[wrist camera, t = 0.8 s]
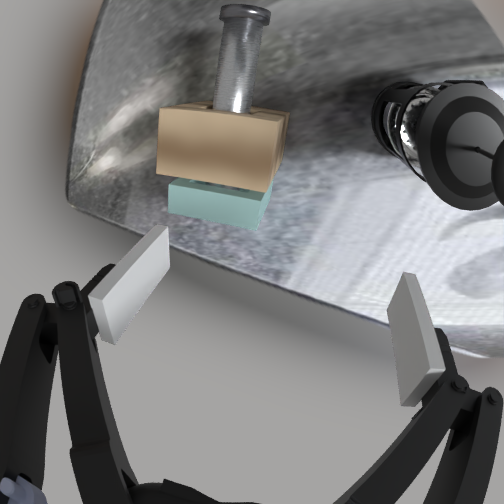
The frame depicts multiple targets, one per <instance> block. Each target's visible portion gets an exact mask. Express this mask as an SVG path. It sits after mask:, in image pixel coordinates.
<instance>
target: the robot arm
mask: <svg viewBox="0 0 504 504" xmlns="http://www.w3.org/2000/svg"><path fill="white" fill-rule="evenodd" d="M169 268H170V259H169V238H168V226H162V225H157V224H156V225H155V226H154V227H153V228H152V229H151V230H150V231H149V232H148V233H147V234H146V235H145V236H144V237H143V238H142V239H141V240H140V241H139V242H138V243H137V244H136V245H135V246H134V247H133V248H132V249H131V250H130V251H129V252H128V253H127V254H126V255H125V256H124V257H123V258H122V259H121V260H120V261H119V262H118V263H117V265H115V264H109V265H107V266H105V267H103V268H102V269H101V270H100V271H99V272H98V273H97V275H95V276H94V277H93V278H92V280H90V281H89V283H87V285H86V286H85V287H84V288H83V289H82V290H81V291H80V290H79V287H78V284H76V283H75V282H72V281H65V282H62V283H60V284H58V285H56V286H55V287H54V289H53V291H52V295H53V298H54V301H55V303H46V301H45V298H44V296H43V295H41V294H32V295H30V296H28V297H26V298H25V299H24V300H23V302H22V304H21V306H20V309H19V311H18V314H17V316H16V319H15V322H14V324H13V327H12V330H11V333H10V336H9V338H8V341H7V344H6V347H5V351H4V354H3V357H2V360H1V364H0V504H47V501H46V497H45V495H44V493H43V492H42V491H41V490H42V485H43V480H44V468H45V447H46V433H47V422H48V413H49V405H50V397H51V390H52V384H53V378H54V372H55V366H56V360H57V355H58V350H59V360H60V370H61V380H62V388H63V395H64V401H65V408H66V414H67V420H68V425H69V430H70V435H71V440H72V448H71V449H70V458H71V463H72V467H73V471H74V474H75V478H76V482H77V485H78V489H79V492H80V495H81V499H82V502H83V504H259V503H253V502H240V503H238V502H237V503H236V502H235V503H231V502H229V503H228V502H226V503H225V502H218V501H216V500H214V499H212V498H210V497H208V496H206V495H204V494H202V493H201V492H199V491H197V490H195V489H193V488H191V487H188V486H185V485H182V484H179V483H175V482H173V481H170V480H167V479H164V480H163V483H144V484H138V481H137V479H136V477H135V475H134V473H133V471H132V469H131V467H130V464H129V462H128V459H127V456H126V453H125V451H124V448H123V445H122V442H121V439H120V436H119V432H118V429H117V426H116V422H115V419H114V415H113V412H112V408H111V405H110V401H109V397H108V393H107V389H106V385H105V382H104V377H103V372H102V368H101V363H100V358H99V353H98V348H97V343H96V340H95V336H96V335H97V333H98V332H99V334H100V337H101V340H103V341H105V342H108V343H111V344H113V345H115V344H116V342H117V341H118V339H119V338H120V337H121V335H122V334H123V332H124V331H125V329H126V328H127V327H128V325H129V324H130V322H131V321H132V319H133V318H134V316H135V315H136V313H137V312H138V311H139V309H140V308H141V307H142V305H143V303H144V302H145V301H146V299H147V298H148V297H149V295H150V294H151V293H152V291H153V290H154V288H155V287H156V285H157V284H158V283H159V281H160V280H161V279H162V277H163V276H164V275H165V273H166V272H167V270H168V269H169ZM387 314H388V320H389V325H390V331H391V337H392V343H393V349H394V356H395V362H396V370H397V377H398V385H399V394H400V403H401V406H411V407H415V406H416V405H417V404H418V403H419V402H420V401H421V400H422V406H423V407H422V408H421V409H420V410H419V411H418V412H417V413H416V414H415V415H414V417H412V420H411V422H410V423H409V424H408V425H407V427H406V428H405V429H404V430H403V432H402V433H401V434H400V435H399V436H398V438H397V439H396V440H395V441H394V442H393V443H392V445H391V446H390V447H389V448H388V449H387V450H386V452H385V453H384V454H383V455H382V456H381V457H380V458H379V459H378V460H377V461H376V463H374V464H373V466H372V467H371V468H370V469H369V470H368V471H367V472H366V473H365V474H364V475H363V476H362V477H361V478H360V479H359V480H358V481H357V482H356V483H355V484H354V485H353V486H352V487H351V488H349V489H348V490H347V491H346V492H345V493H344V494H343V495H342V496H341V497H340V498H339V499H338V500H337V501H335V502H334V503H333V504H395V502H396V501H397V500H398V499H399V498H400V497H401V495H402V494H403V493H404V492H405V490H406V489H407V488H408V487H409V486H410V484H411V483H412V482H413V480H414V479H415V478H416V477H417V475H418V474H419V472H420V471H421V470H422V468H423V467H424V466H425V464H426V463H427V462H428V460H429V459H430V457H431V456H432V454H433V453H434V451H435V450H436V448H437V447H438V445H439V444H440V442H441V441H442V439H443V438H444V436H445V434H446V433H447V431H448V430H449V429H451V430H450V433H449V436H448V440H447V443H446V447H445V449H444V452H443V455H442V458H441V461H440V463H439V466H438V469H437V471H436V474H435V477H434V479H433V481H432V484H431V486H430V489H429V491H428V493H427V496H426V498H425V500H424V502H423V504H483V501H484V498H485V495H486V491H487V488H488V484H489V480H490V476H491V472H492V468H493V464H494V459H495V454H496V449H497V444H498V438H499V432H500V426H501V418H502V410H503V398H502V395H501V394H500V392H499V391H498V390H496V389H495V388H492V387H488V388H486V389H485V390H484V391H483V392H482V393H480V392H478V391H475V390H472V389H470V388H469V384H468V383H467V381H466V380H465V379H464V378H463V377H462V376H460V375H458V373H457V369H456V366H455V362H454V359H453V355H452V353H451V349H450V346H449V342H448V339H447V336H446V335H445V334H444V332H443V331H442V329H440V328H434V327H433V323H432V320H431V317H430V314H429V311H428V308H427V305H426V302H425V299H424V296H423V294H422V291H421V288H420V285H419V283H418V280H417V277H416V275H415V274H411V273H406V272H403V274H402V276H401V279H400V281H399V283H398V286H397V288H396V290H395V293H394V295H393V297H392V300H391V302H390V304H389V306H388V308H387Z"/></svg>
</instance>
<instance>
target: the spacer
mask: <svg viewBox="0 0 504 504" xmlns="http://www.w3.org/2000/svg"><path fill="white" fill-rule="evenodd" d="M273 179H274V178H273ZM272 185H273V180H272V182H271V184H270V186H269V188H268V190H267V192H266V193H264V192H259V191H254V190H249V189H243V188H240V191H236V190H231V189H225V188H220V187H214V186H209V185H205V181H199V180H193V179H187V178H181V177H178V178H177V179H175V180H174V181H173V182H171V183H170V184H169V189H168V213H172V214H177V215H182V216H187V217H192V218H197V219H202V220H207V221H212V222H217V223H221V224H226V225H231V226H236V227H240V228H245V229H250V230H255V231H256V230H257V228H258V226H259V223H260V221H261V219H262V216H263V214H264V212H265V209H266V207H267V205H268V202H269V200H270V196H271V190H272Z"/></svg>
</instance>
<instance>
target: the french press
mask: <svg viewBox="0 0 504 504" xmlns="http://www.w3.org/2000/svg"><path fill="white" fill-rule="evenodd" d="M435 85H441V86H440V87H439V88H438V89H436V88H434V87H431V86H435ZM388 102H392V106H391V108H390V110H389V114H388V122H387V128H388V134H389V137H388V135H387V133H386V131H385V128H384V124H383V114H384V110H385V107H386V105H387V104H388ZM372 126H373V130H374V133H375V136H376V137H377V139H378V141H379V143H380V144H381V145H382V146H383V147H384V148H385V149H386V150H387V151H388V152H389V153H391V154H392V155H394V156H396V157H398V158H399V159H400V160H401V161H402V162H403V163H404V164H405V165H406V166H407V167H408V168H410V169H411V170H412V171H413V172H414V173H415V174H416V175H417V176H418V177H419V178H420V179H422V180H423V181H425V182H426V183H428V185H429V186H430V188H431V189H432V191H433V192H434V193H435V194H436V195H437V196H438V197H439V198H441V199H442V200H443V201H444V202H446V203H447V204H449V205H451V206H453V207H456V208H458V209H461V210H470V211H472V210H481V209H483V208H486V207H489V206H491V205H493V204H494V203H496V202H498V201H499V202H500V203H501V204H502V205H503V206H504V100H503V99H502V98H501V97H500V96H499V95H497V94H496V93H495V92H494V91H492V90H490V89H488V87H487V86H486V85H485V84H484V82H483V81H476V80H446V81H444V82H443V83H429V84H425V85H423V84H417V83H413V82H398V83H395V84H392V85H390V86H388V87H386V88H385V89H384V90H383V91H382V92H381V93H380V94H379V95H378V97H377V98H376V100H375V103H374V105H373V109H372ZM411 165H413V166H415V167H418V168H420V169H421V172H422V174H423V176H424V177H423V176H421V175H420V174H418V173H417V172H416V171H415V170H414V168H413V167H412V166H411Z"/></svg>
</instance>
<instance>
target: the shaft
mask: <svg viewBox="0 0 504 504" xmlns="http://www.w3.org/2000/svg"><path fill="white" fill-rule="evenodd" d="M270 16H271V12H270V11H269V10H267V9H264V8H261V7H257V6H252V5H243V4H230V5H224V6H222V7H221V11H220V17H219V19H220V20H221V21H224V27H223V33H222V40H221V47H220V53H219V61H218V68H217V75H216V83H215V91H214V99H213V108H212V109H214V110H223V111H231V112H239V113H246V114H250V111H251V104H252V97H253V90H254V84H255V77H256V70H257V63H258V57H259V50H260V44H261V37H262V31H263V26H267V25H269V22H270ZM205 185H209V186H214V187H220V188H225V189H231V190H236V191H240V188H238V187H233V186H227V185H222V184H216V183H211V182H205Z"/></svg>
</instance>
